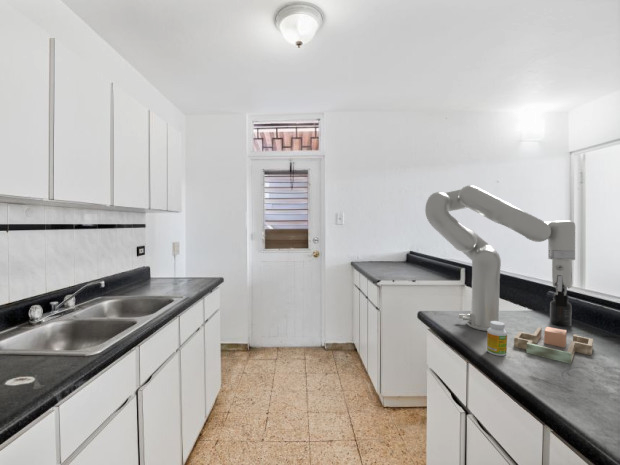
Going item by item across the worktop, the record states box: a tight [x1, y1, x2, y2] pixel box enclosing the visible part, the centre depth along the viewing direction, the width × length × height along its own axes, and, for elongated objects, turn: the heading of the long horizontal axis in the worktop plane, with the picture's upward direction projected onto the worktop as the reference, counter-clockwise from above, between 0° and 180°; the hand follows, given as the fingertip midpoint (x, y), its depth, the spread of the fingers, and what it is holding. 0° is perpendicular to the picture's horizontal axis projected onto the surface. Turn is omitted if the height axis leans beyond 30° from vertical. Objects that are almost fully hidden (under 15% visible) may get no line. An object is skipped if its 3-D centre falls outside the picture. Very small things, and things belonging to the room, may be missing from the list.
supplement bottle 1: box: [486, 321, 508, 357], centre depth 100 cm, size 5×5×10 cm
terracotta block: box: [543, 326, 568, 348], centre depth 107 cm, size 6×6×4 cm
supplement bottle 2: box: [549, 293, 573, 328], centre depth 126 cm, size 7×7×12 cm
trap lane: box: [513, 326, 594, 365], centre depth 103 cm, size 19×21×3 cm
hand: (561, 305), depth 112 cm, fingers closed
